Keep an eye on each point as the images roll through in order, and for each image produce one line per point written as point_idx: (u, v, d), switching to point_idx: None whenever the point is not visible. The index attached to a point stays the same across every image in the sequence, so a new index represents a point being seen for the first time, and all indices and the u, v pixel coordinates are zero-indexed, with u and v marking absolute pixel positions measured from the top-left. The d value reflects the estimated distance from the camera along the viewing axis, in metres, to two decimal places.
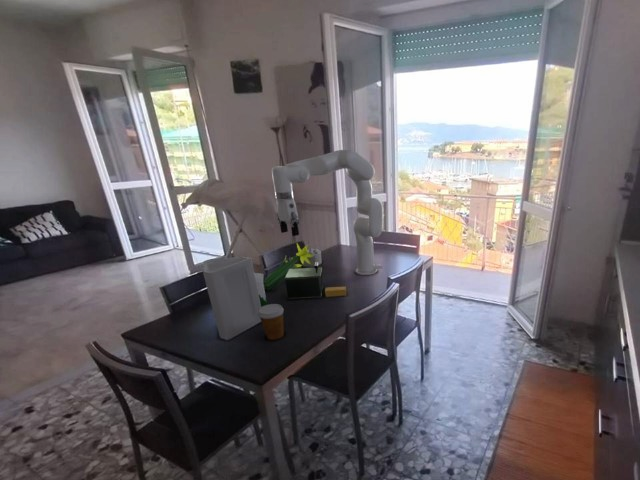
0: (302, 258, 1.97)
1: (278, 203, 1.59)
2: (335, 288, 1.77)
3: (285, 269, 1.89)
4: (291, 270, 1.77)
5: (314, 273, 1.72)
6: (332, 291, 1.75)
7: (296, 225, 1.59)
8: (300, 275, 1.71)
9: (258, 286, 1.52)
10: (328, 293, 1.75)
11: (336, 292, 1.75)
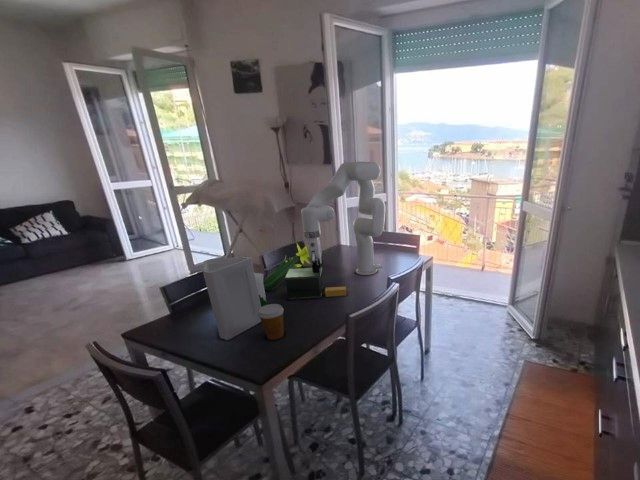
0: (302, 258, 1.97)
1: None
2: (335, 288, 1.77)
3: (285, 269, 1.89)
4: (291, 270, 1.77)
5: (314, 273, 1.72)
6: (332, 291, 1.75)
7: (314, 264, 1.68)
8: (300, 275, 1.71)
9: (258, 286, 1.52)
10: (328, 293, 1.75)
11: (336, 292, 1.75)
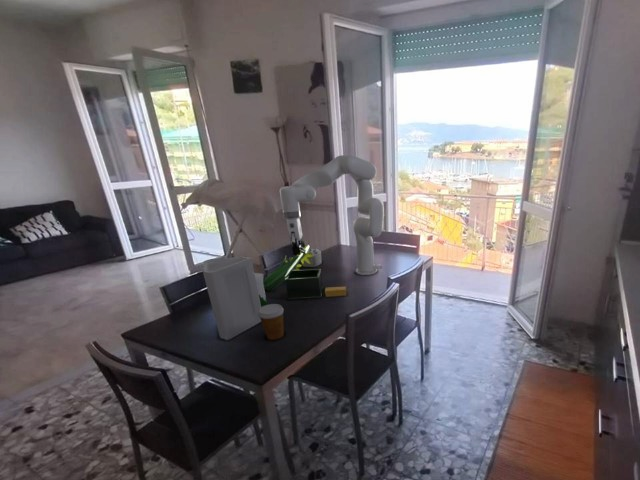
0: (302, 258, 1.97)
1: None
2: (335, 288, 1.77)
3: (285, 269, 1.89)
4: (289, 268, 1.76)
5: (302, 254, 1.68)
6: (332, 291, 1.75)
7: (295, 245, 1.64)
8: (293, 265, 1.68)
9: (258, 286, 1.52)
10: (328, 293, 1.75)
11: (336, 292, 1.75)
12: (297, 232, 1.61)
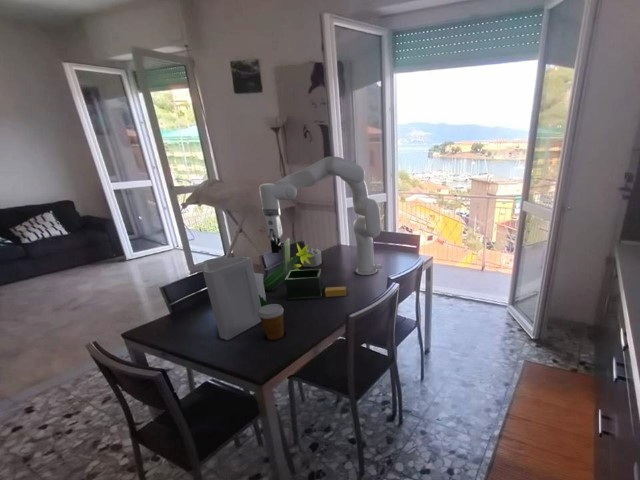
0: (302, 258, 1.97)
1: None
2: (335, 288, 1.77)
3: None
4: None
5: None
6: (332, 291, 1.75)
7: (273, 243, 1.62)
8: None
9: (258, 286, 1.52)
10: (328, 293, 1.75)
11: (336, 292, 1.75)
12: (276, 230, 1.60)
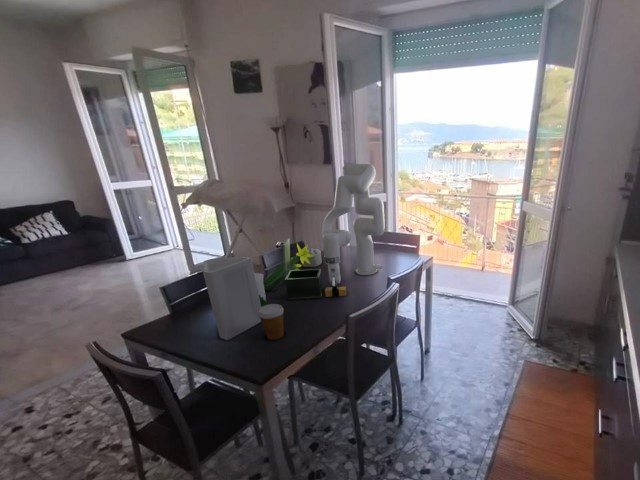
0: (302, 258, 1.97)
1: None
2: None
3: None
4: None
5: None
6: None
7: (334, 288, 1.72)
8: None
9: (258, 286, 1.52)
10: (328, 293, 1.75)
11: None
12: (337, 276, 1.69)
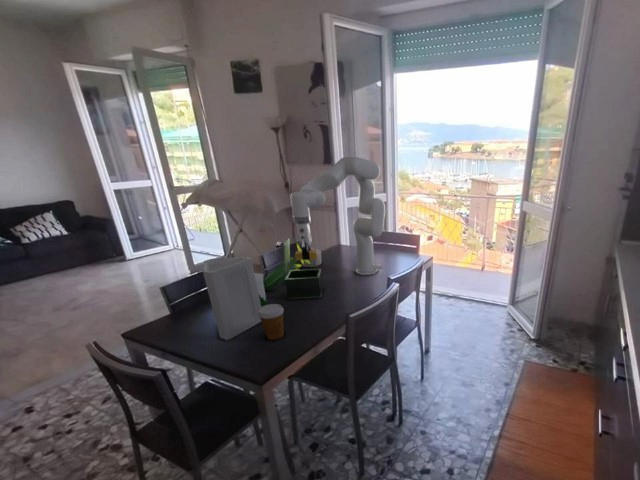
0: None
1: None
2: None
3: None
4: None
5: None
6: None
7: (304, 250, 1.65)
8: None
9: (258, 286, 1.52)
10: (298, 256, 1.68)
11: None
12: (307, 237, 1.62)
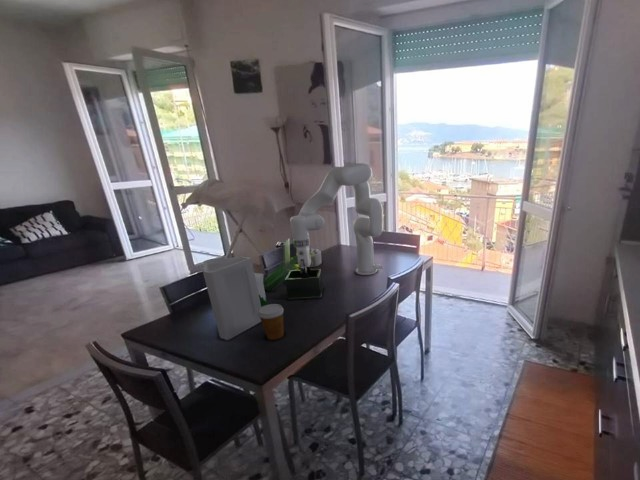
0: None
1: None
2: None
3: None
4: None
5: None
6: None
7: (303, 272, 1.68)
8: None
9: (258, 286, 1.52)
10: None
11: None
12: (306, 259, 1.67)
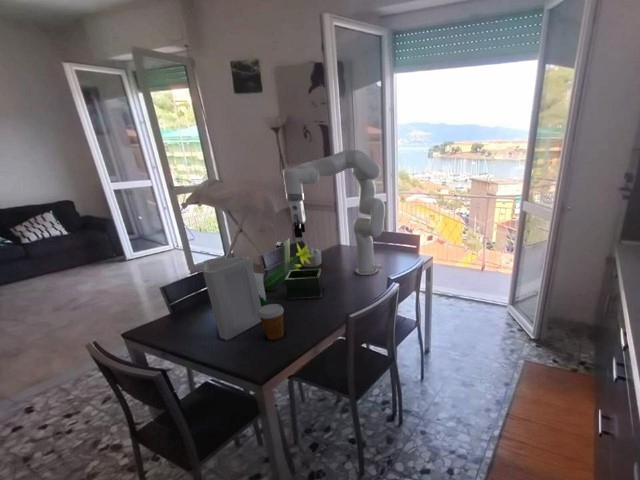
0: (302, 258, 1.97)
1: None
2: None
3: None
4: None
5: None
6: None
7: (296, 227, 1.59)
8: None
9: (258, 286, 1.52)
10: None
11: None
12: (300, 215, 1.58)
